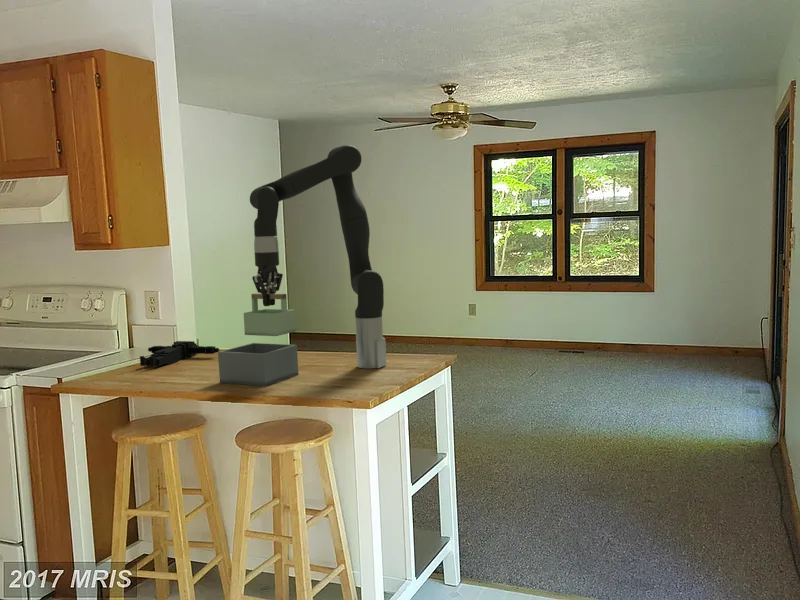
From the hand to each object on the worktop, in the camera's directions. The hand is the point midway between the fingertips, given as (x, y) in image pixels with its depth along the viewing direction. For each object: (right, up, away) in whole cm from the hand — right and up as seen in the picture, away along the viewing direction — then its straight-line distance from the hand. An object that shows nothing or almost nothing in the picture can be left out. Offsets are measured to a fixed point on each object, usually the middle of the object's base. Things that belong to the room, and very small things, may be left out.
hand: (269, 305), depth 228 cm
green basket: (0, -9, +1) cm, 9 cm away
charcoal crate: (-4, -24, +7) cm, 25 cm away
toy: (-45, -22, +45) cm, 68 cm away
